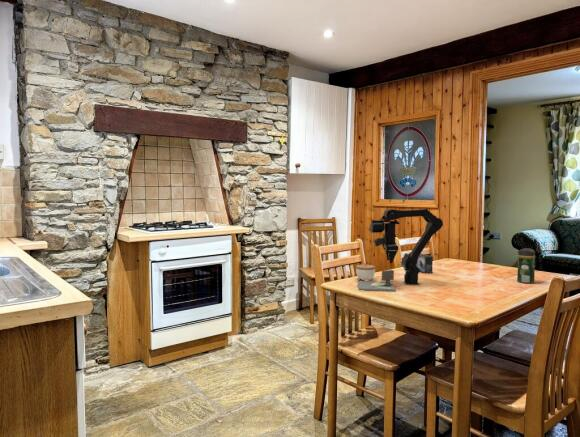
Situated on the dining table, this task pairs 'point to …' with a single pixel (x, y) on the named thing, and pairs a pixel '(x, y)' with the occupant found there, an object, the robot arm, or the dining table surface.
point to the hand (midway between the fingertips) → (389, 261)
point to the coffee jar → (526, 265)
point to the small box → (425, 263)
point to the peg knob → (386, 277)
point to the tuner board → (367, 286)
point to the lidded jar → (365, 271)
